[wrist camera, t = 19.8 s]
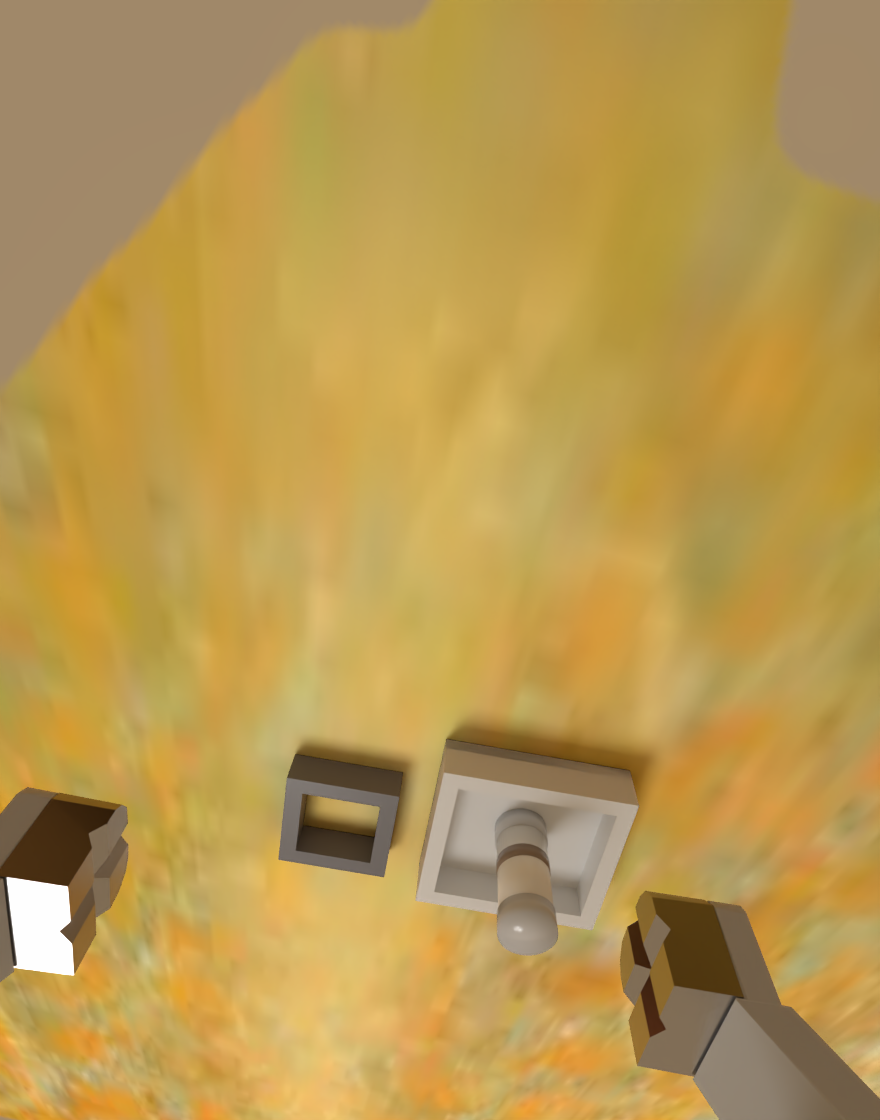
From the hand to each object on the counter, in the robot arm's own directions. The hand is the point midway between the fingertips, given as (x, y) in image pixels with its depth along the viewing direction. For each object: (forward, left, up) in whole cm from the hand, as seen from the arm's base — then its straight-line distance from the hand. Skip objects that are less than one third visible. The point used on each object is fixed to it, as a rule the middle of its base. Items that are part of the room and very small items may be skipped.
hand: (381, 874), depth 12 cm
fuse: (-10, +30, -33) cm, 46 cm away
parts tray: (-10, +31, -34) cm, 47 cm away
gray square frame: (+3, +32, -34) cm, 47 cm away
